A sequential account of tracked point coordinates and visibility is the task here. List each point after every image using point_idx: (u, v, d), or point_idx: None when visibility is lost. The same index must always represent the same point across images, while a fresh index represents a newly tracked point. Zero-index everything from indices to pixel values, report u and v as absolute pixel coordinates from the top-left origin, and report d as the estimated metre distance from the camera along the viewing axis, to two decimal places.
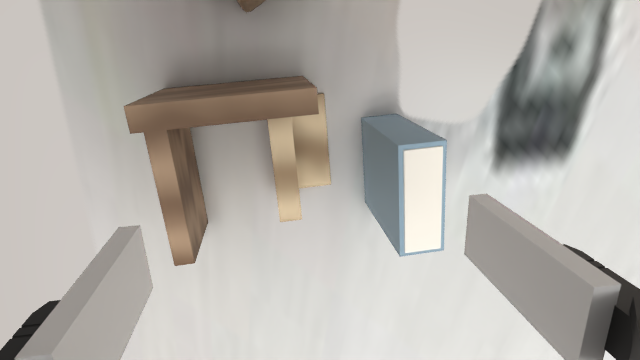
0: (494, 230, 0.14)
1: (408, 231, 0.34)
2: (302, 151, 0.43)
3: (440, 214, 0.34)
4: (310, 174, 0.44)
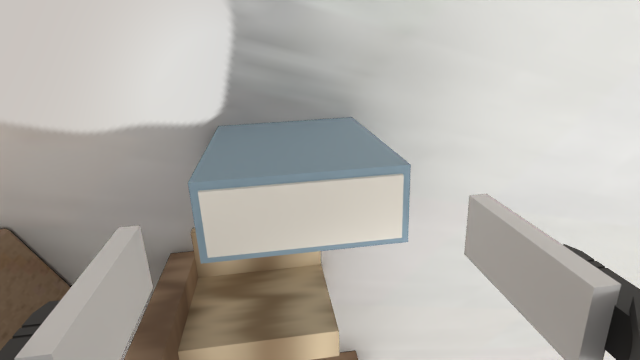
0: (494, 230, 0.14)
1: (360, 236, 0.19)
2: (269, 257, 0.32)
3: (334, 181, 0.18)
4: None
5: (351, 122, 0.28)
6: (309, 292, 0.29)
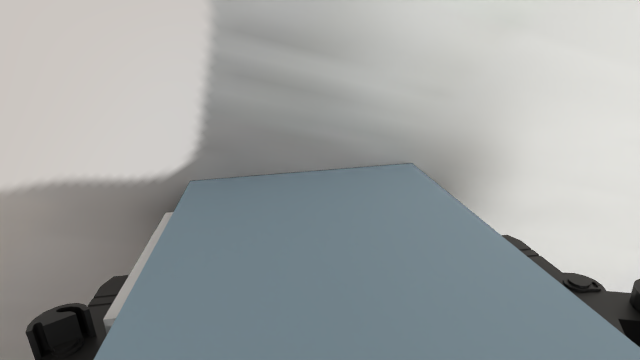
0: None
1: None
2: None
3: None
4: None
5: (417, 177, 0.16)
6: None
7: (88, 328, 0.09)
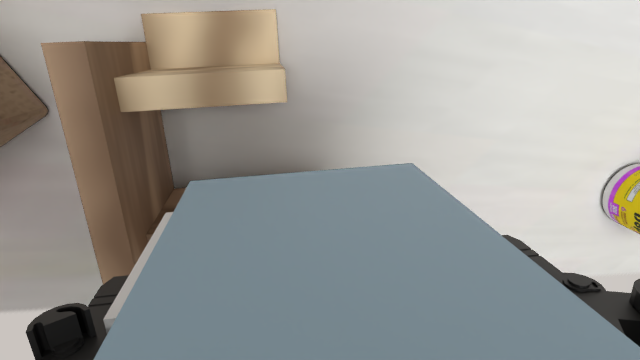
0: None
1: None
2: (225, 50, 0.31)
3: None
4: (258, 40, 0.31)
5: (417, 177, 0.16)
6: (261, 66, 0.28)
7: (88, 328, 0.09)
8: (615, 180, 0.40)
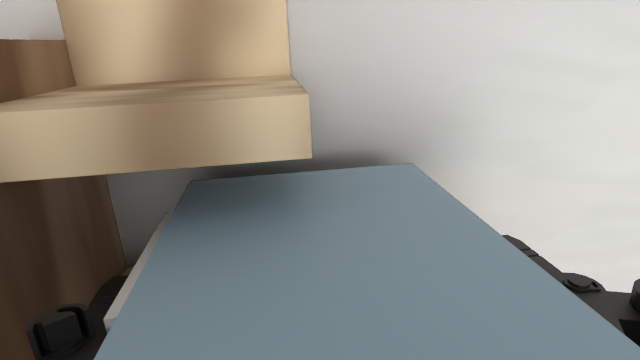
0: None
1: None
2: (201, 53, 0.19)
3: None
4: (256, 37, 0.19)
5: (417, 177, 0.16)
6: (261, 83, 0.16)
7: (88, 328, 0.09)
8: None
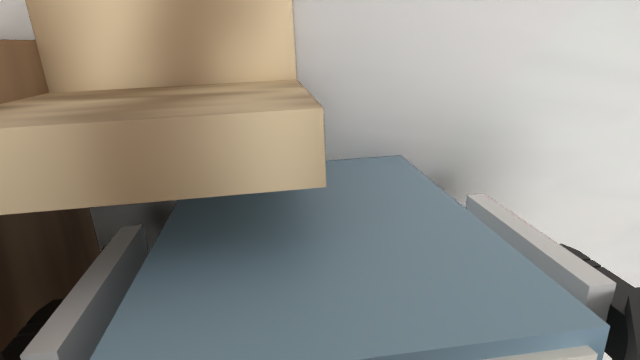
0: None
1: None
2: (194, 55, 0.16)
3: None
4: (257, 37, 0.16)
5: (404, 167, 0.18)
6: (263, 90, 0.13)
7: None
8: None
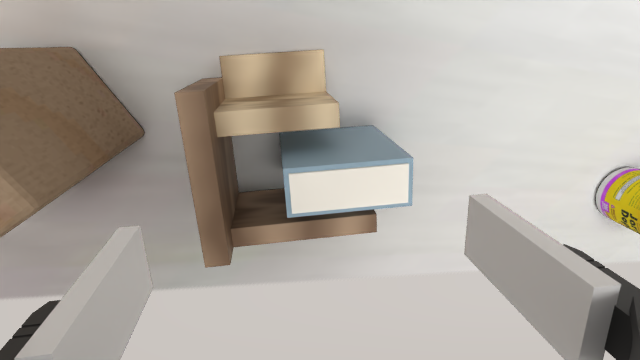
0: (494, 230, 0.14)
1: (382, 201, 0.31)
2: (283, 82, 0.39)
3: (367, 167, 0.30)
4: (309, 74, 0.39)
5: (373, 129, 0.41)
6: (315, 97, 0.36)
7: None
8: (606, 182, 0.47)
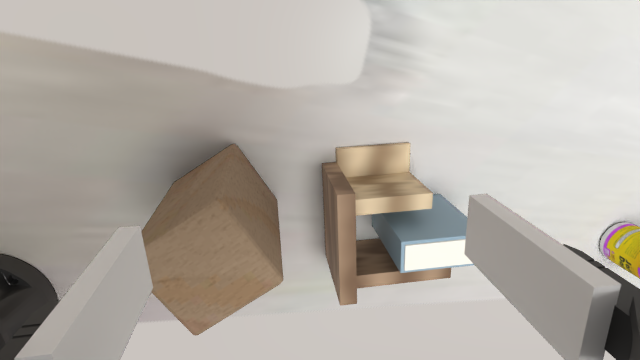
0: (494, 230, 0.14)
1: (464, 262, 0.46)
2: (380, 166, 0.54)
3: (456, 240, 0.45)
4: (399, 160, 0.54)
5: (442, 199, 0.55)
6: (408, 181, 0.51)
7: None
8: (608, 233, 0.62)
